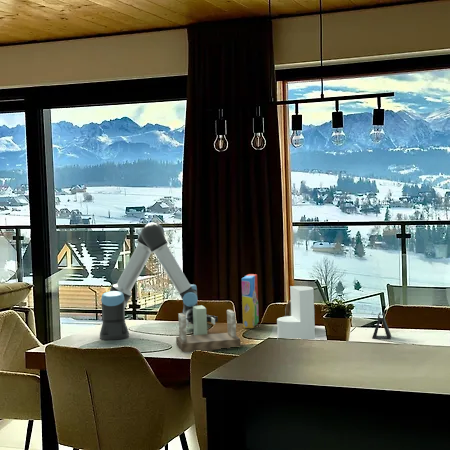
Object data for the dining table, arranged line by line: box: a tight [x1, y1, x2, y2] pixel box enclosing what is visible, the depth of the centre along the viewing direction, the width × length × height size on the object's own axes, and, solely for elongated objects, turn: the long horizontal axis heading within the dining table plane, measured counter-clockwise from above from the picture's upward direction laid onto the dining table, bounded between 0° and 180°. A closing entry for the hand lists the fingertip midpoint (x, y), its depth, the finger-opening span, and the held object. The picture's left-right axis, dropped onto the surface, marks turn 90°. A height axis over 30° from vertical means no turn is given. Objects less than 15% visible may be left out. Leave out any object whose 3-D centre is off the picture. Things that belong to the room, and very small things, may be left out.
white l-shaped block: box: [276, 285, 316, 340], centre depth 349 cm, size 17×17×28 cm
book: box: [192, 304, 208, 335], centre depth 382 cm, size 5×11×16 cm, turn 12°
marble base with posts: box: [175, 309, 241, 353], centre depth 362 cm, size 28×18×16 cm, turn 102°
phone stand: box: [371, 312, 392, 340], centre depth 367 cm, size 9×6×12 cm, turn 75°
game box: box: [241, 273, 260, 329], centre depth 413 cm, size 21×6×27 cm, turn 168°
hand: (201, 322), depth 378 cm, fingers open, 13 cm apart
